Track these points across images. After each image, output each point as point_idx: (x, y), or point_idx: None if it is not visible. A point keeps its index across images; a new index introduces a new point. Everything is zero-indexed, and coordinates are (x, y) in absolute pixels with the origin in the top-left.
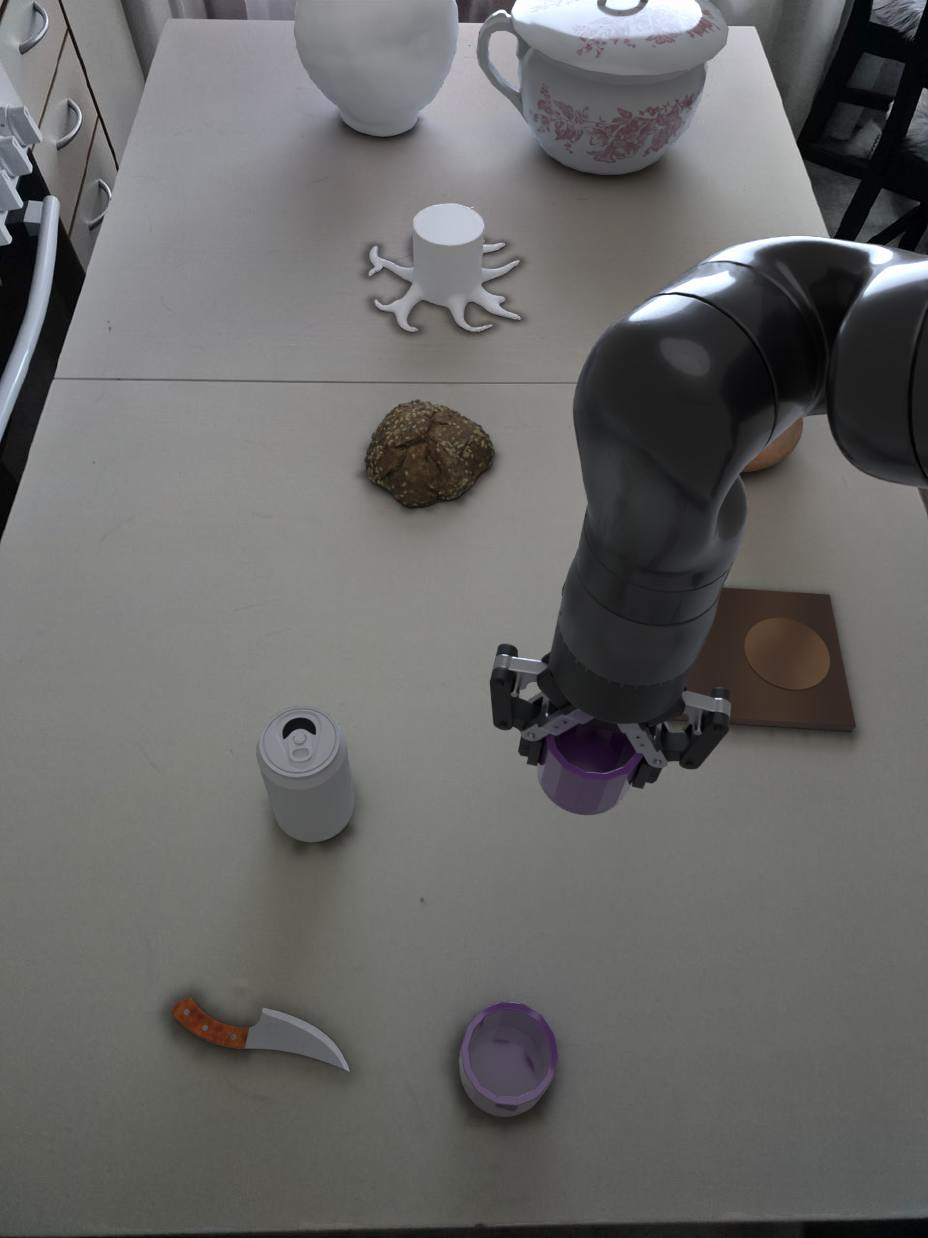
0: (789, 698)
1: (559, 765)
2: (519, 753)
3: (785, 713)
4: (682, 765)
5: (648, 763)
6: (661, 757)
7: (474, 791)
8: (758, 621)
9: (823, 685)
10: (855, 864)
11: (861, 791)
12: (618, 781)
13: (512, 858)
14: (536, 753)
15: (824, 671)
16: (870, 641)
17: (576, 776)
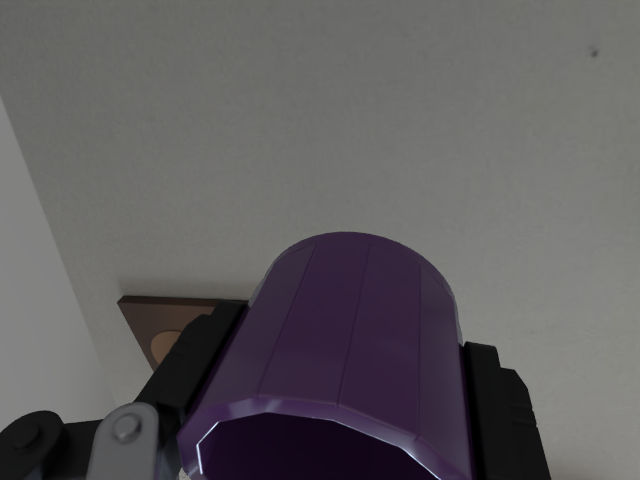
0: (175, 324)
1: (430, 435)
2: (519, 378)
3: (175, 311)
4: (53, 429)
5: (157, 420)
6: (99, 465)
7: (498, 217)
8: None
9: (151, 334)
10: (82, 178)
11: (99, 246)
12: (236, 367)
13: (448, 137)
14: (486, 405)
15: (153, 344)
16: (132, 361)
17: (366, 404)
